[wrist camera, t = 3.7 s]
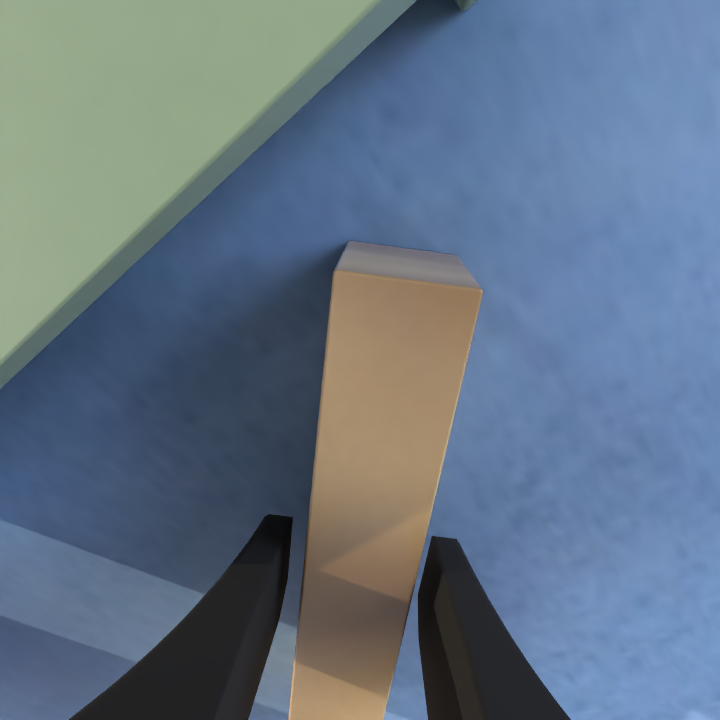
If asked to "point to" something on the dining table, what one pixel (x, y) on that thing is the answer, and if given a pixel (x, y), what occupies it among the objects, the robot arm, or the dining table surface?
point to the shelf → (139, 129)
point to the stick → (376, 467)
